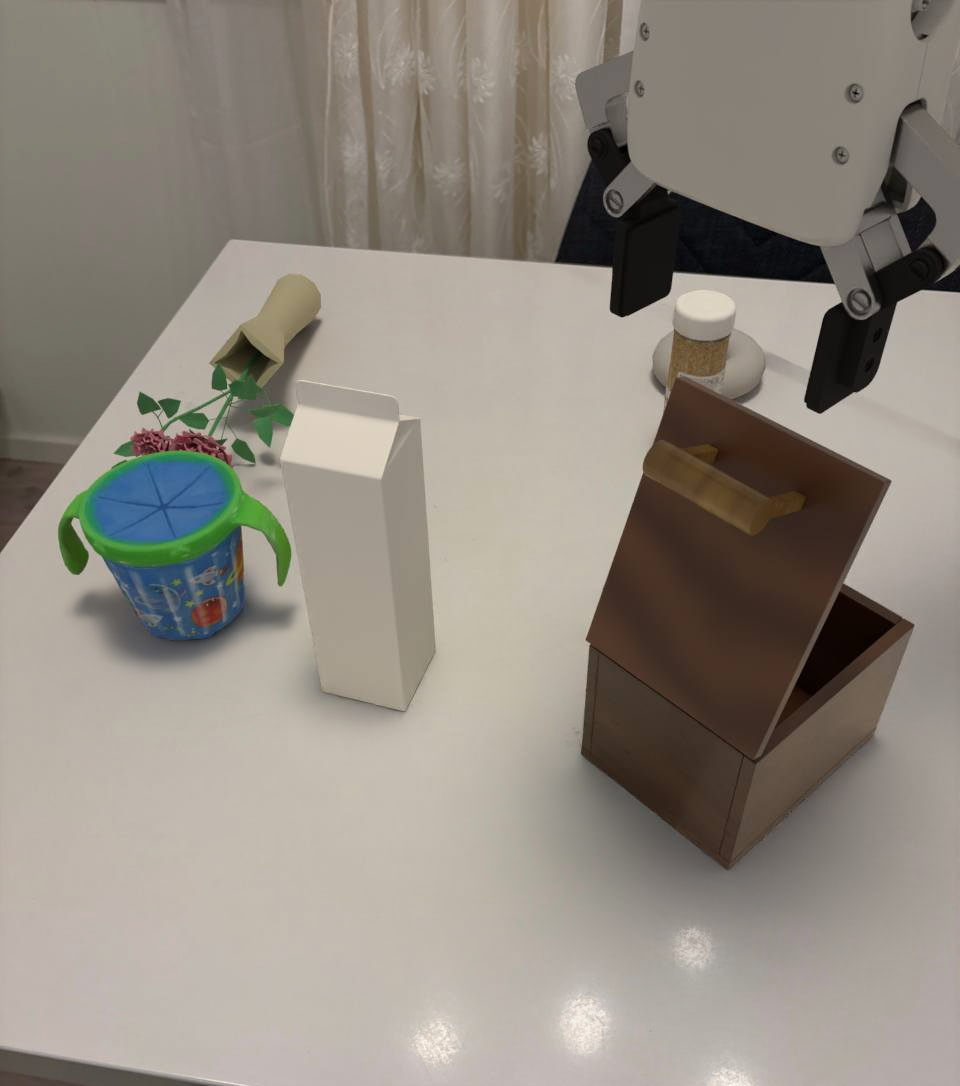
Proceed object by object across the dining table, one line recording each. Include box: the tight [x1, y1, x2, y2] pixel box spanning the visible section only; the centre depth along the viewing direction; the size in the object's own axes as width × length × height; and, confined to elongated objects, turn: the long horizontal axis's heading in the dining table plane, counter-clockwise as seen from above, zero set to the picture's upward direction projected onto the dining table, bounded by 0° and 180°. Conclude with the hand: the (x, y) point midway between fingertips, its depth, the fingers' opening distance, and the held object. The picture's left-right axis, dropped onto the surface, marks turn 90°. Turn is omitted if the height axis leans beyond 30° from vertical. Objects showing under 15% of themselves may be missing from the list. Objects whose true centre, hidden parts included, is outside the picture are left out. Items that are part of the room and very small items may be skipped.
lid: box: [585, 377, 893, 760], centre depth 52 cm, size 15×12×6 cm
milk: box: [279, 379, 437, 712], centre depth 65 cm, size 6×6×22 cm
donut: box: [651, 328, 767, 400], centre depth 96 cm, size 10×4×10 cm
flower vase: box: [110, 273, 322, 470], centre depth 91 cm, size 12×12×35 cm
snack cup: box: [57, 451, 292, 641], centre depth 74 cm, size 16×10×10 cm
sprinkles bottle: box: [662, 289, 737, 414], centre depth 85 cm, size 5×5×14 cm
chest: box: [580, 582, 916, 871], centre depth 64 cm, size 15×12×10 cm
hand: (731, 348), depth 43 cm, fingers open, 9 cm apart
